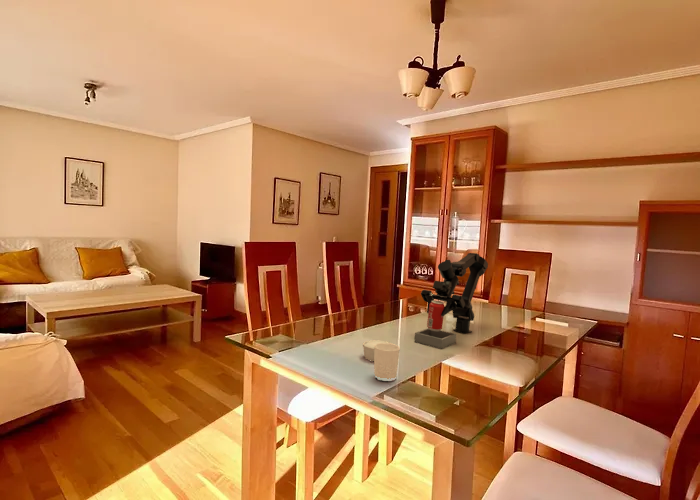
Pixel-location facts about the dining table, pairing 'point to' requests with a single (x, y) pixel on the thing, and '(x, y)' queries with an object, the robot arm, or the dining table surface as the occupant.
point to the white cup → (386, 360)
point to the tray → (435, 338)
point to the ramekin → (371, 348)
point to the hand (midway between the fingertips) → (434, 314)
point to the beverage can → (435, 316)
